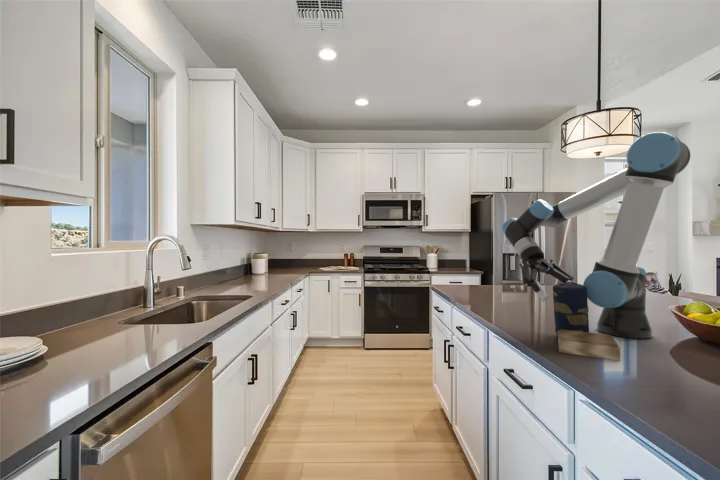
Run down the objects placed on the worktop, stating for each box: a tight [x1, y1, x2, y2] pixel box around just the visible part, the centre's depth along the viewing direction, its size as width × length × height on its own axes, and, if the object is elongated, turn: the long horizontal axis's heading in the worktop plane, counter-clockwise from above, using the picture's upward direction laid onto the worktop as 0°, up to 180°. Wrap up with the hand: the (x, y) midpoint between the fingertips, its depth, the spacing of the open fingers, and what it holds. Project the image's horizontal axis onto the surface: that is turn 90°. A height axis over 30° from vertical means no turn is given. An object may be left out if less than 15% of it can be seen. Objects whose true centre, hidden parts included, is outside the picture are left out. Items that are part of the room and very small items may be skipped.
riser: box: [557, 329, 621, 362], centre depth 100 cm, size 14×12×4 cm
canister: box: [552, 281, 590, 336], centre depth 112 cm, size 10×10×18 cm
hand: (562, 298), depth 116 cm, fingers open, 13 cm apart
